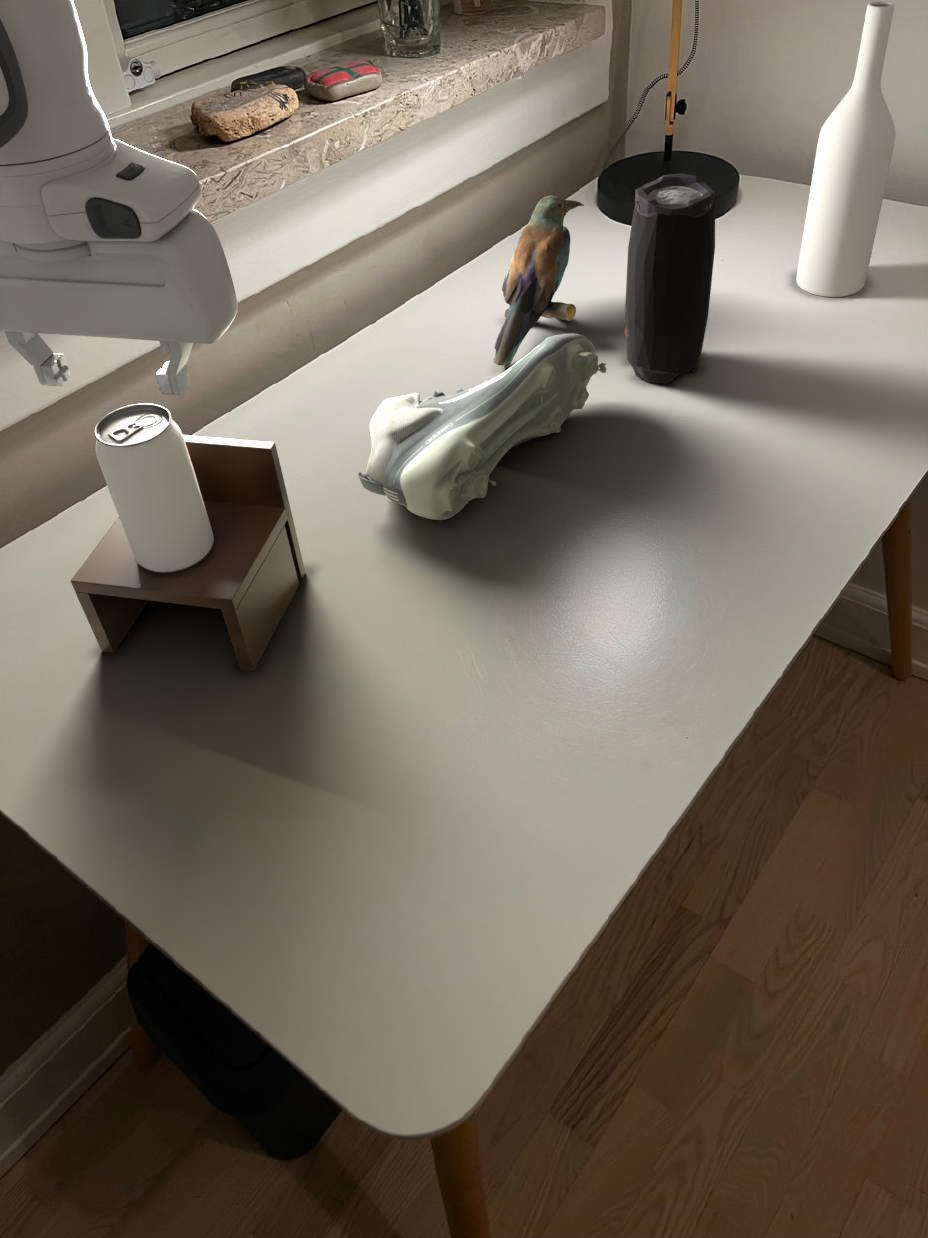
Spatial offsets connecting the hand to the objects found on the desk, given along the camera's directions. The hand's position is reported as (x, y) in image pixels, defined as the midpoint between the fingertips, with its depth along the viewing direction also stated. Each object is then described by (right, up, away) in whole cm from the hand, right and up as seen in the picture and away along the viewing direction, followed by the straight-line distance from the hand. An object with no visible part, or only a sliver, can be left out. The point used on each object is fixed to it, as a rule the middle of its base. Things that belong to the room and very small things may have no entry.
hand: (116, 386), depth 73 cm
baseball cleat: (+26, +1, +33) cm, 42 cm away
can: (+1, -11, +11) cm, 16 cm away
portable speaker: (+47, +11, +41) cm, 64 cm away
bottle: (+69, +24, +53) cm, 91 cm away
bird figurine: (+34, +18, +50) cm, 63 cm away
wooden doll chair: (+2, -16, +17) cm, 23 cm away
